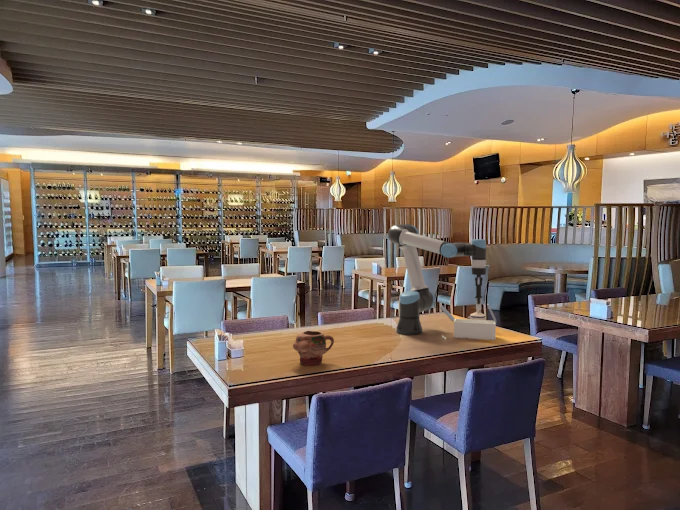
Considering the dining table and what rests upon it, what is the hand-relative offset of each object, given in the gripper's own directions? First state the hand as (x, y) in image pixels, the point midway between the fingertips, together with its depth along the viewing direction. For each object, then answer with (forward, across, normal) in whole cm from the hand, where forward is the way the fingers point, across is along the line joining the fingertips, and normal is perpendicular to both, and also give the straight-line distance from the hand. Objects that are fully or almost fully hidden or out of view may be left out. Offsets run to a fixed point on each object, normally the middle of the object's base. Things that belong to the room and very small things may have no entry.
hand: (478, 309), depth 266 cm
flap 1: (+3, 0, +17) cm, 17 cm away
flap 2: (+2, 0, -7) cm, 7 cm away
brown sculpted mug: (+16, -72, +71) cm, 102 cm away
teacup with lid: (+16, +21, +2) cm, 26 cm away
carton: (+16, 0, +2) cm, 16 cm away
